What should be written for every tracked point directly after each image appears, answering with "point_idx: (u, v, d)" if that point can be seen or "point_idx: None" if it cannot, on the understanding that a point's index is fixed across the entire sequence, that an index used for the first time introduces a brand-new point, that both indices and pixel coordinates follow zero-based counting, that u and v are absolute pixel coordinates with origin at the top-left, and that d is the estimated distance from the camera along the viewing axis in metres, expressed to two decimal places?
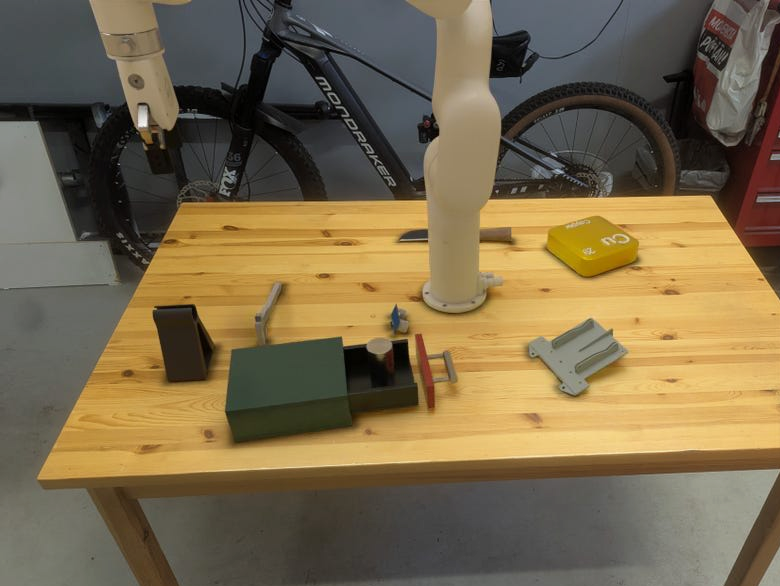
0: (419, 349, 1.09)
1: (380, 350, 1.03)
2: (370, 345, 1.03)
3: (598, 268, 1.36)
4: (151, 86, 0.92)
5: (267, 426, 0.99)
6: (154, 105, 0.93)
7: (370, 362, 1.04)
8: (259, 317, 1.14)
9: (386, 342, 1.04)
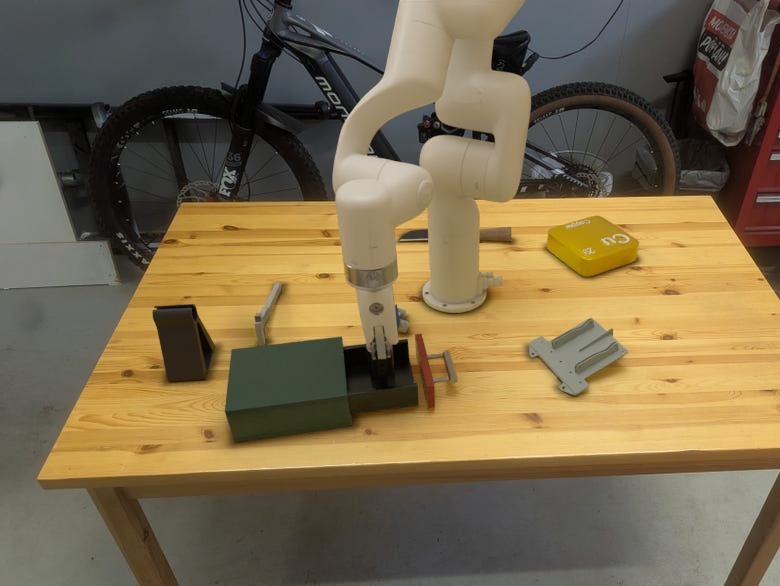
0: (419, 349, 1.09)
1: None
2: None
3: (598, 268, 1.36)
4: (389, 311, 0.94)
5: (267, 426, 0.99)
6: (389, 326, 0.95)
7: (370, 362, 1.04)
8: (259, 317, 1.14)
9: None
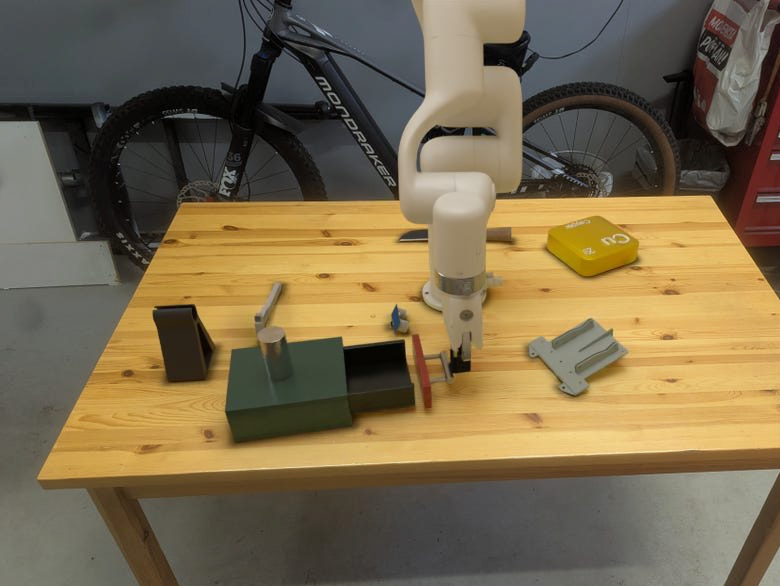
0: (416, 349, 1.09)
1: (271, 339, 0.97)
2: (261, 334, 0.98)
3: (598, 268, 1.36)
4: (478, 318, 0.98)
5: (267, 426, 0.99)
6: (476, 332, 0.99)
7: (262, 352, 0.98)
8: (259, 317, 1.14)
9: (279, 331, 0.98)
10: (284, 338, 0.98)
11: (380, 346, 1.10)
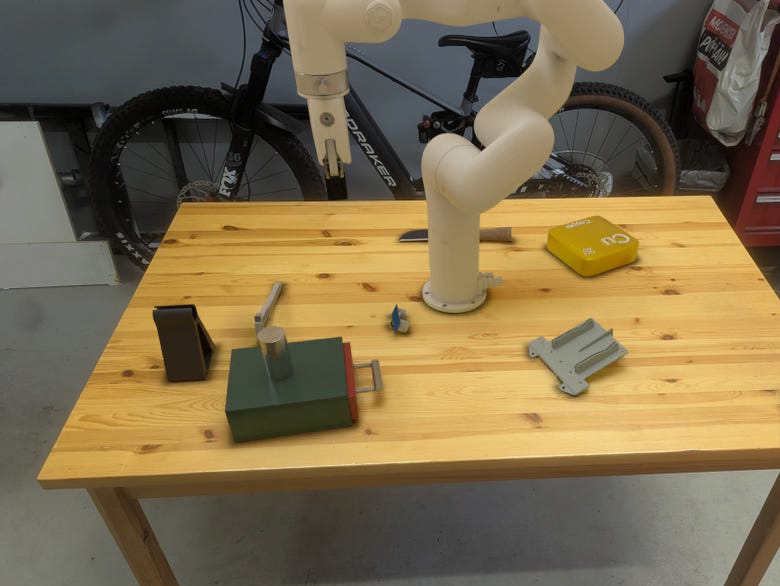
0: (345, 358, 1.07)
1: (271, 339, 0.97)
2: (261, 334, 0.98)
3: (598, 268, 1.36)
4: (340, 123, 0.96)
5: (267, 426, 0.99)
6: (340, 141, 0.97)
7: (262, 352, 0.98)
8: (259, 317, 1.14)
9: (279, 331, 0.98)
10: (284, 338, 0.98)
11: None
